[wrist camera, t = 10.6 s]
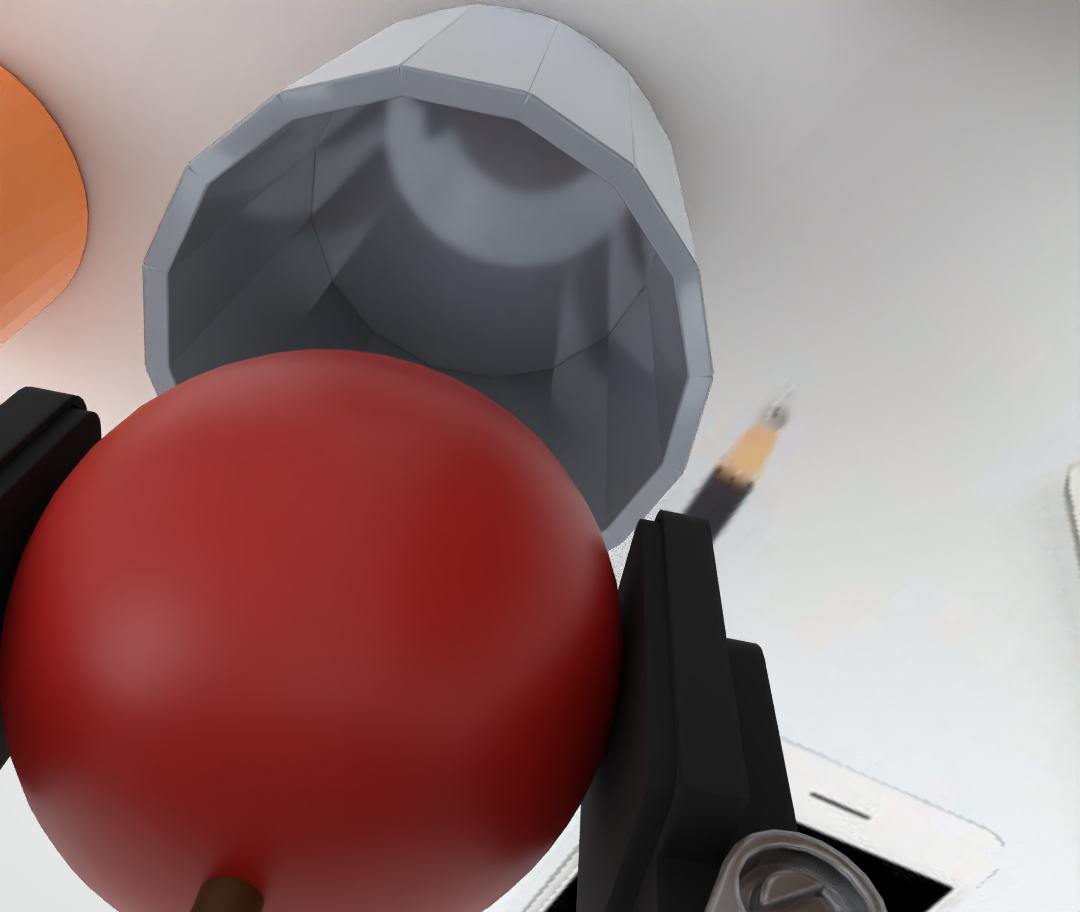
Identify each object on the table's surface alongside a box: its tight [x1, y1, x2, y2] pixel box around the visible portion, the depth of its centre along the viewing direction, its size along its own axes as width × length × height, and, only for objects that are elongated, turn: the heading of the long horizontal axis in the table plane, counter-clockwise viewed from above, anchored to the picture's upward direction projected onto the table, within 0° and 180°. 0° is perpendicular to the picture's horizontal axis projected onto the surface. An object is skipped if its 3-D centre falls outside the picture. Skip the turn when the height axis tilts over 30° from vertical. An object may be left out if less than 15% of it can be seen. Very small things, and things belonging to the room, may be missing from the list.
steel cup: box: [143, 4, 714, 551], centre depth 19 cm, size 9×9×9 cm
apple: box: [0, 349, 623, 912], centre depth 10 cm, size 6×6×7 cm
